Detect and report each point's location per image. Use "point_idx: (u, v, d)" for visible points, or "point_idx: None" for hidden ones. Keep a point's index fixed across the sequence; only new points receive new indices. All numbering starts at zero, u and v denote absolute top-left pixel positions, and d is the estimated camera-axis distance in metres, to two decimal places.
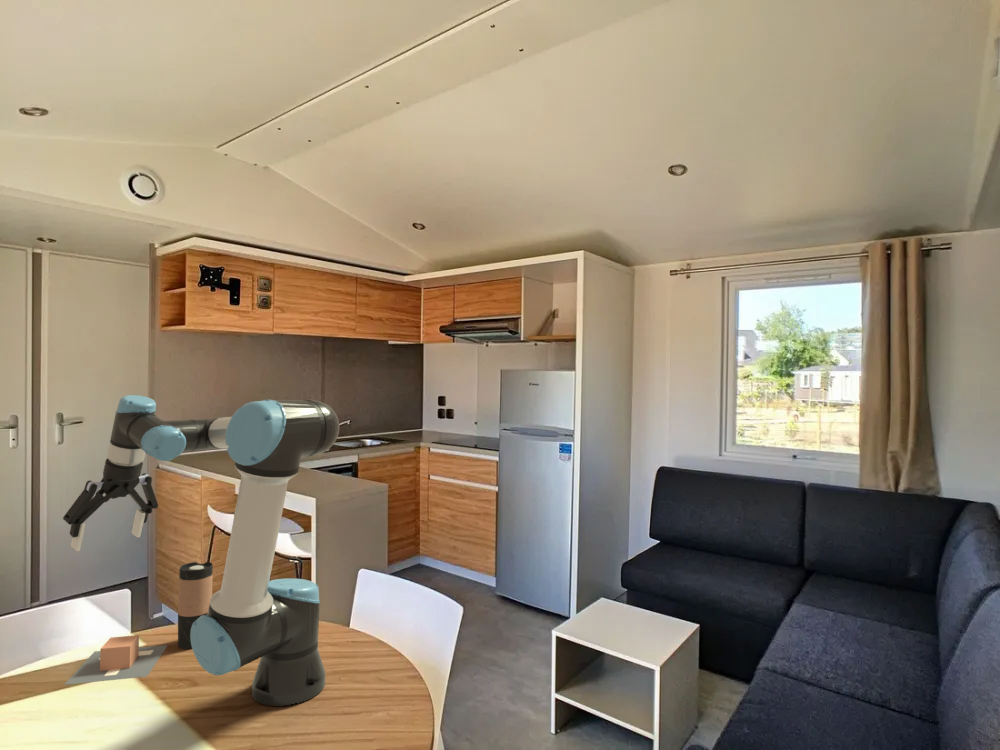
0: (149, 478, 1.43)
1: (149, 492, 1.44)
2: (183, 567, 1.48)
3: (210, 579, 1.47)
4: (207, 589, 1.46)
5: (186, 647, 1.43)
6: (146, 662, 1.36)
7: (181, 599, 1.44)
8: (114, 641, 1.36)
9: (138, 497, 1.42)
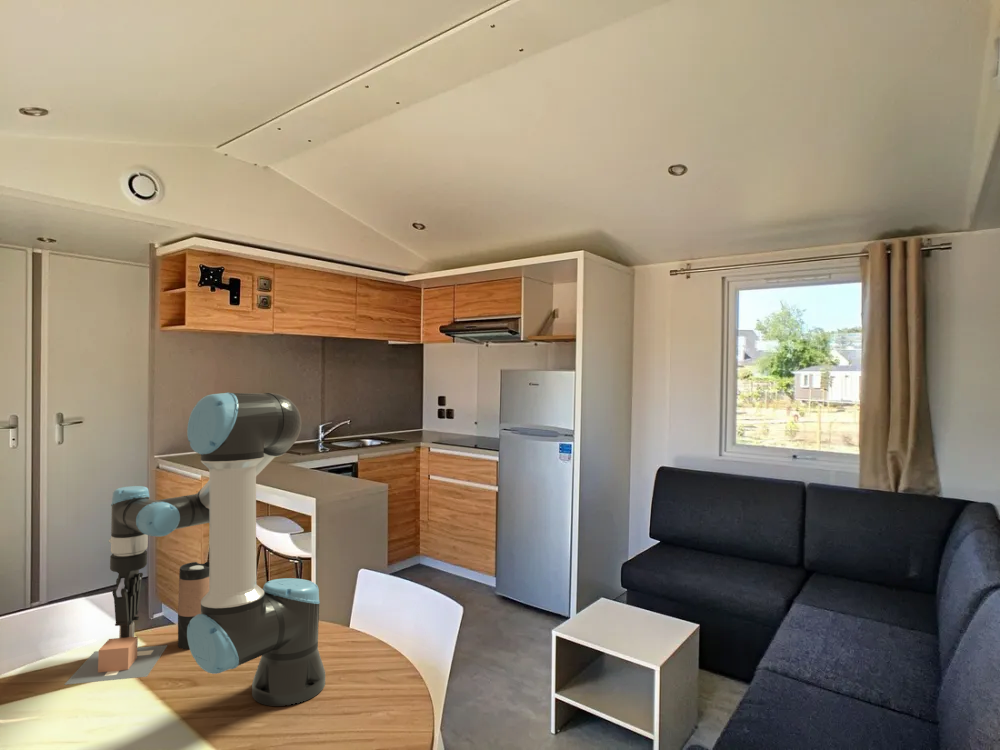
0: (142, 573, 1.46)
1: (139, 590, 1.44)
2: (183, 567, 1.48)
3: None
4: (207, 589, 1.46)
5: (186, 647, 1.43)
6: (146, 662, 1.36)
7: (181, 599, 1.44)
8: (112, 643, 1.35)
9: (135, 596, 1.41)
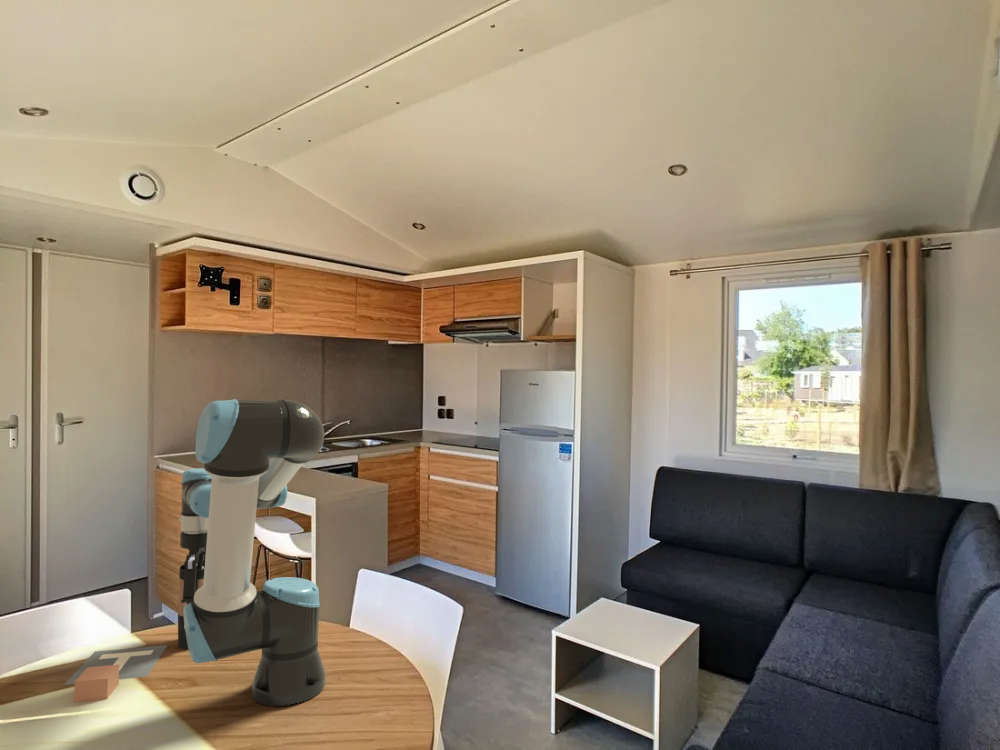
0: None
1: None
2: (183, 567, 1.48)
3: None
4: None
5: (186, 647, 1.43)
6: (146, 662, 1.36)
7: (181, 598, 1.44)
8: (90, 672, 1.23)
9: None
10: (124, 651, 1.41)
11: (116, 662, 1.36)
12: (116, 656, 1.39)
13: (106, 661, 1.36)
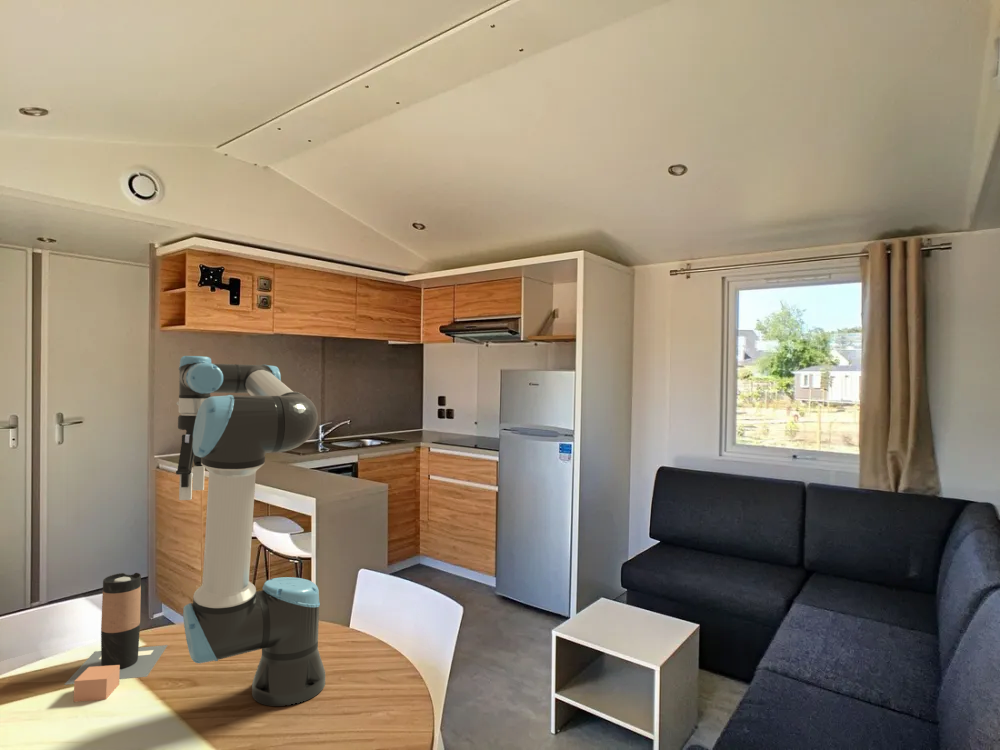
0: None
1: None
2: (108, 579, 1.36)
3: (137, 592, 1.36)
4: (133, 603, 1.35)
5: None
6: (146, 662, 1.36)
7: (104, 613, 1.32)
8: (91, 672, 1.23)
9: None
10: None
11: None
12: None
13: None
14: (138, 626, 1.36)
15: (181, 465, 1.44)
